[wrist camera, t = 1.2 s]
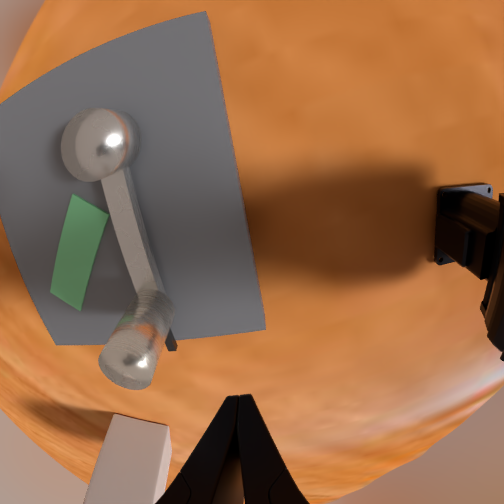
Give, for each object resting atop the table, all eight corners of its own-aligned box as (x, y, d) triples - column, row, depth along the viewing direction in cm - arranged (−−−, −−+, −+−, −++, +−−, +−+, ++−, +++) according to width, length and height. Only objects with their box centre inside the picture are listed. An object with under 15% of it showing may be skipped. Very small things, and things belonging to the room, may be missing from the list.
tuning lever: (80, 122, 15) (5, 127, 8) (134, 101, 15) (70, 89, 8) (151, 345, 21) (125, 414, 15) (199, 342, 21) (184, 416, 15)
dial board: (209, 21, 15) (205, 9, 13) (264, 314, 23) (266, 331, 21) (-4, 117, 16) (-20, 118, 14) (64, 333, 24) (55, 346, 22)
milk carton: (114, 411, 29) (72, 541, 12) (169, 424, 29) (143, 565, 12) (123, 438, 32) (93, 550, 14) (172, 450, 32) (153, 568, 15)
